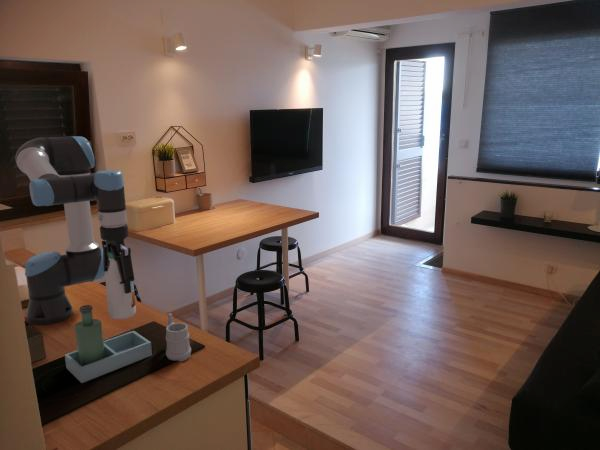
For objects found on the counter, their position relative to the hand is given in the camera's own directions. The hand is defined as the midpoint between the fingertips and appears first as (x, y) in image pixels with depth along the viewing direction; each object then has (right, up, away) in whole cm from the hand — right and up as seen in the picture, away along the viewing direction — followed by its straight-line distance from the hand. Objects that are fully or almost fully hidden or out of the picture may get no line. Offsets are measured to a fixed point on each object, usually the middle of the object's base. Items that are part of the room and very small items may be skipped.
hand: (121, 298), depth 143 cm
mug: (+15, -18, +7) cm, 25 cm away
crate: (-4, -20, +1) cm, 20 cm away
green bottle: (-7, -20, -2) cm, 21 cm away
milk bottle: (0, -5, +1) cm, 5 cm away
